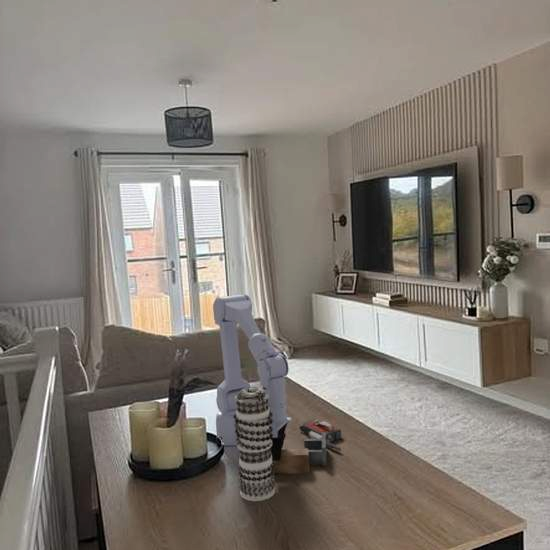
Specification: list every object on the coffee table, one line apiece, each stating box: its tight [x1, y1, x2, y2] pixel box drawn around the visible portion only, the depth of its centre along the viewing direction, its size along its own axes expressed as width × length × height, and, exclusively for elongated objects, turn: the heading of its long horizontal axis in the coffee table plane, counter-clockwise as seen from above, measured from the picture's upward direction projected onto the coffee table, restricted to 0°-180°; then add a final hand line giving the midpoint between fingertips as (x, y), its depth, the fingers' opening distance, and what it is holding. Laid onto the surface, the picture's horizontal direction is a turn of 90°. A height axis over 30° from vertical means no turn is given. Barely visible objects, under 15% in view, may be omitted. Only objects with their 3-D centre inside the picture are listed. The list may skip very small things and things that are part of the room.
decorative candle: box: [233, 386, 276, 502], centre depth 122 cm, size 9×9×25 cm
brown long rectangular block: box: [271, 448, 310, 474], centre depth 133 cm, size 16×4×5 cm, turn 89°
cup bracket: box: [303, 432, 327, 467], centre depth 139 cm, size 6×10×5 cm, turn 175°
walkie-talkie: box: [298, 418, 342, 452], centre depth 151 cm, size 9×4×20 cm
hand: (277, 453), depth 133 cm, fingers open, 7 cm apart
